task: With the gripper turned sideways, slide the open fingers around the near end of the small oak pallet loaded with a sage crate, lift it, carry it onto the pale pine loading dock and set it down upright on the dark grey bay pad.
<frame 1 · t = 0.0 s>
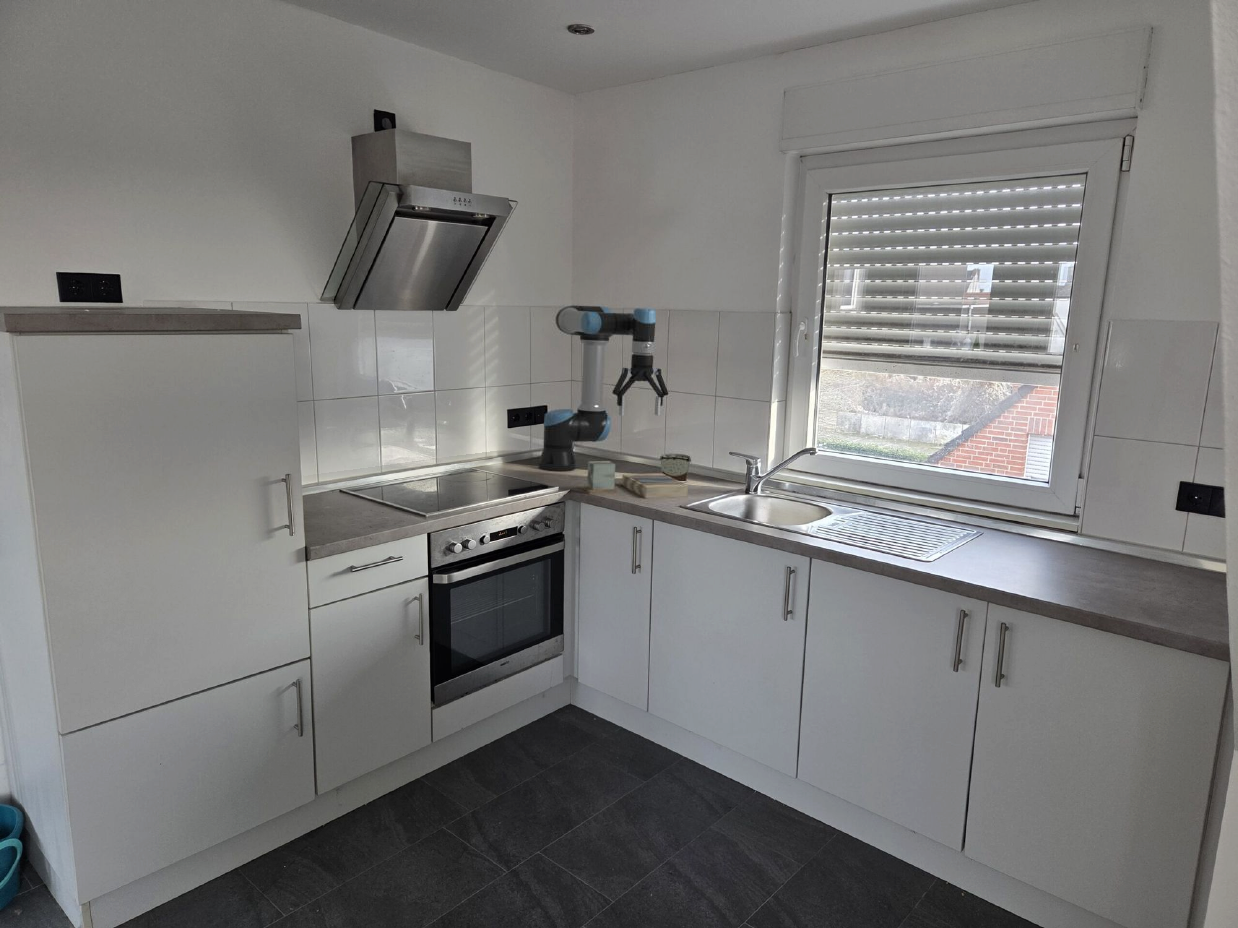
hand: (639, 415, 284), 28 cm above the worktop, tool pointing down, fingers open, 13 cm apart
loaded pallet: (600, 491, 290), on the worktop
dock: (653, 490, 295), on the worktop
food container: (674, 480, 316), on the worktop
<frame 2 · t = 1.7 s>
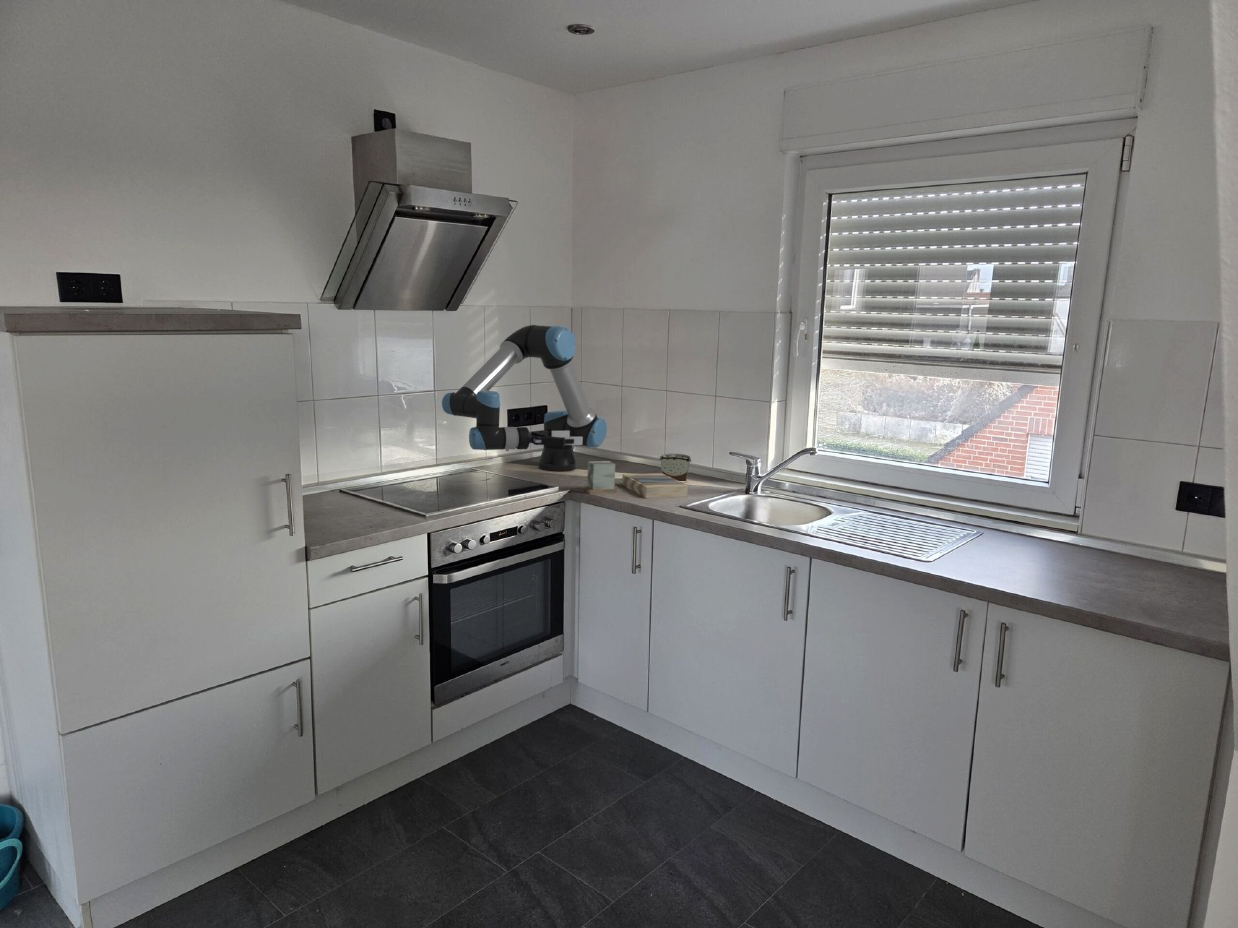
hand: (575, 437, 282), 20 cm above the worktop, tool horizontal, fingers open, 13 cm apart
nothing on the worktop moved.
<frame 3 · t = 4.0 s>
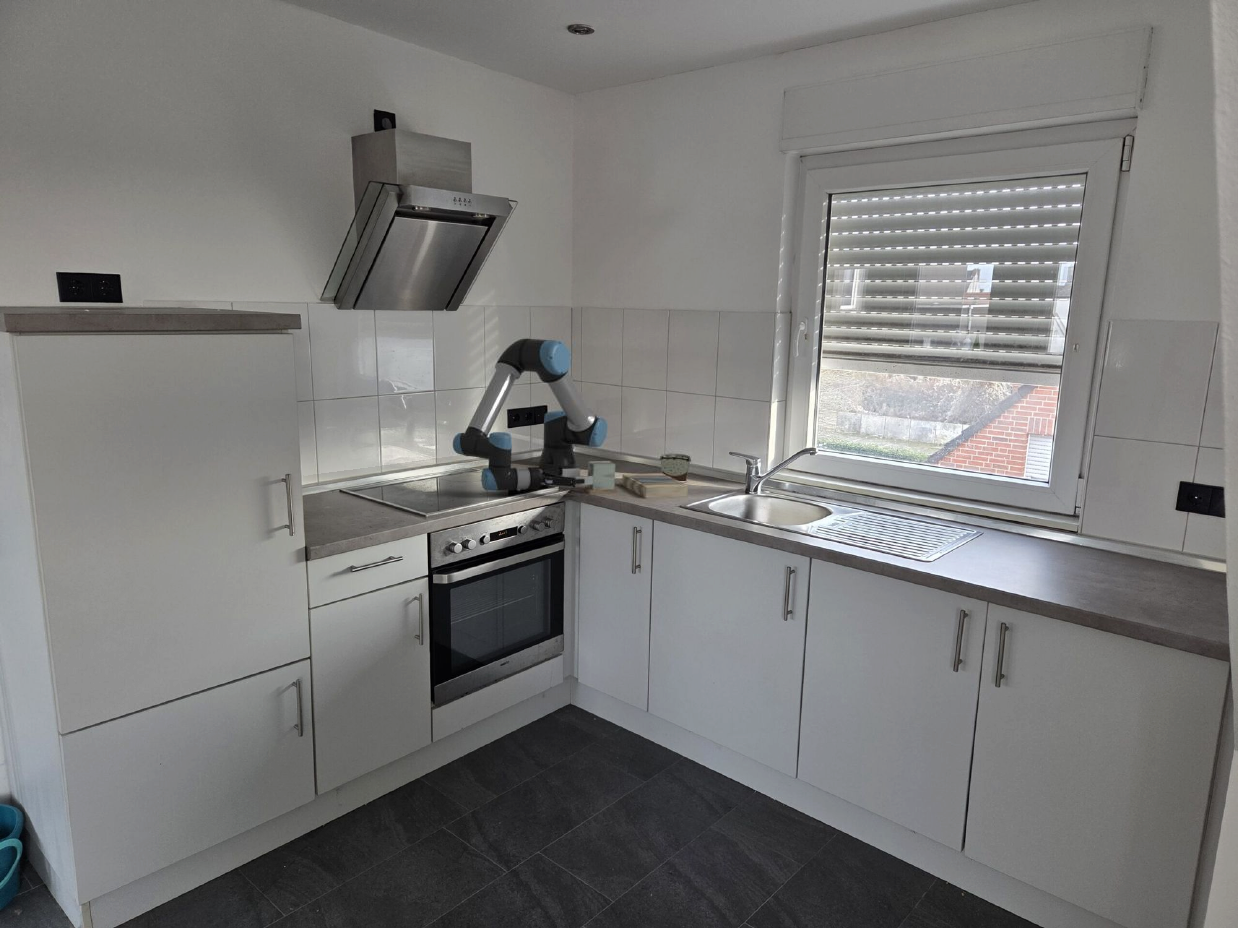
hand: (586, 476, 286), 6 cm above the worktop, tool horizontal, fingers open, 13 cm apart
nothing on the worktop moved.
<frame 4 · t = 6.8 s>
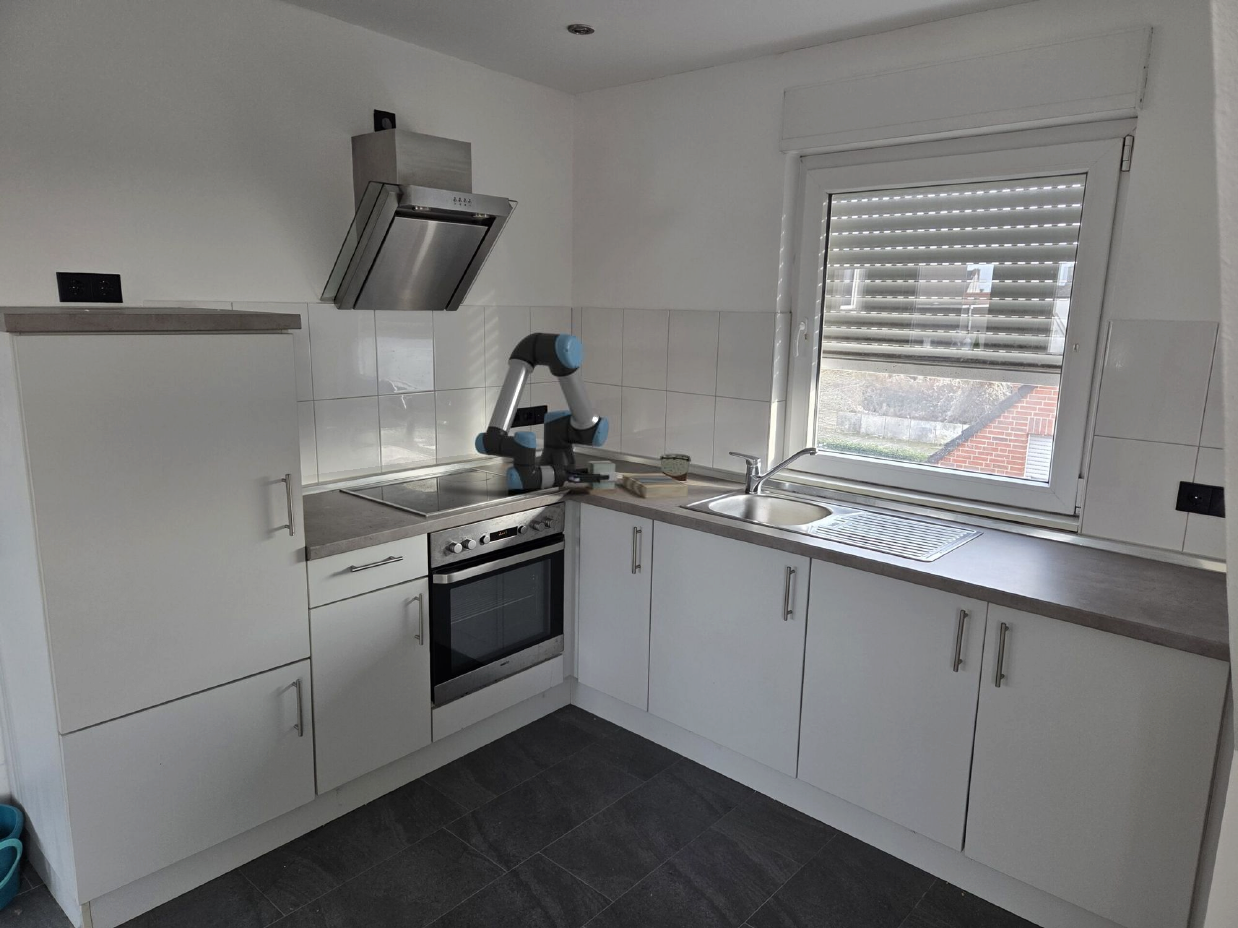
hand: (613, 474, 290), 6 cm above the worktop, tool horizontal, fingers closed on loaded pallet, 6 cm apart
loaded pallet: (600, 491, 290), on the worktop, touching gripper
everything else where it was.
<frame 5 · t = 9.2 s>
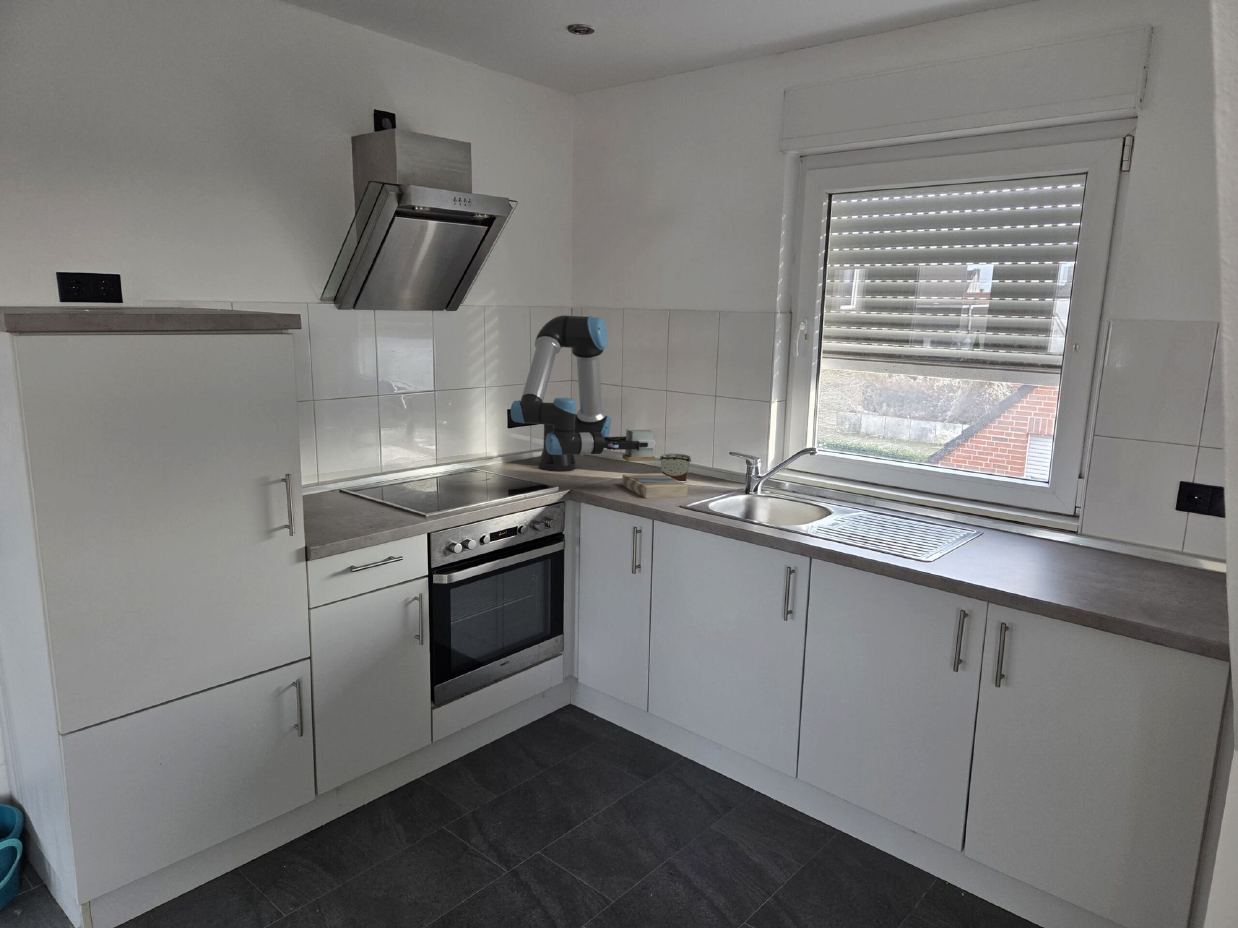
hand: (651, 442, 290), 18 cm above the worktop, tool horizontal, fingers closed on loaded pallet, 6 cm apart
loaded pallet: (638, 459, 290), point 12 cm above the worktop, touching gripper
everything else where it was.
when the fingers open (11 cm above the worktop, at t = 11.8 s): loaded pallet stays where it is, resting on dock.
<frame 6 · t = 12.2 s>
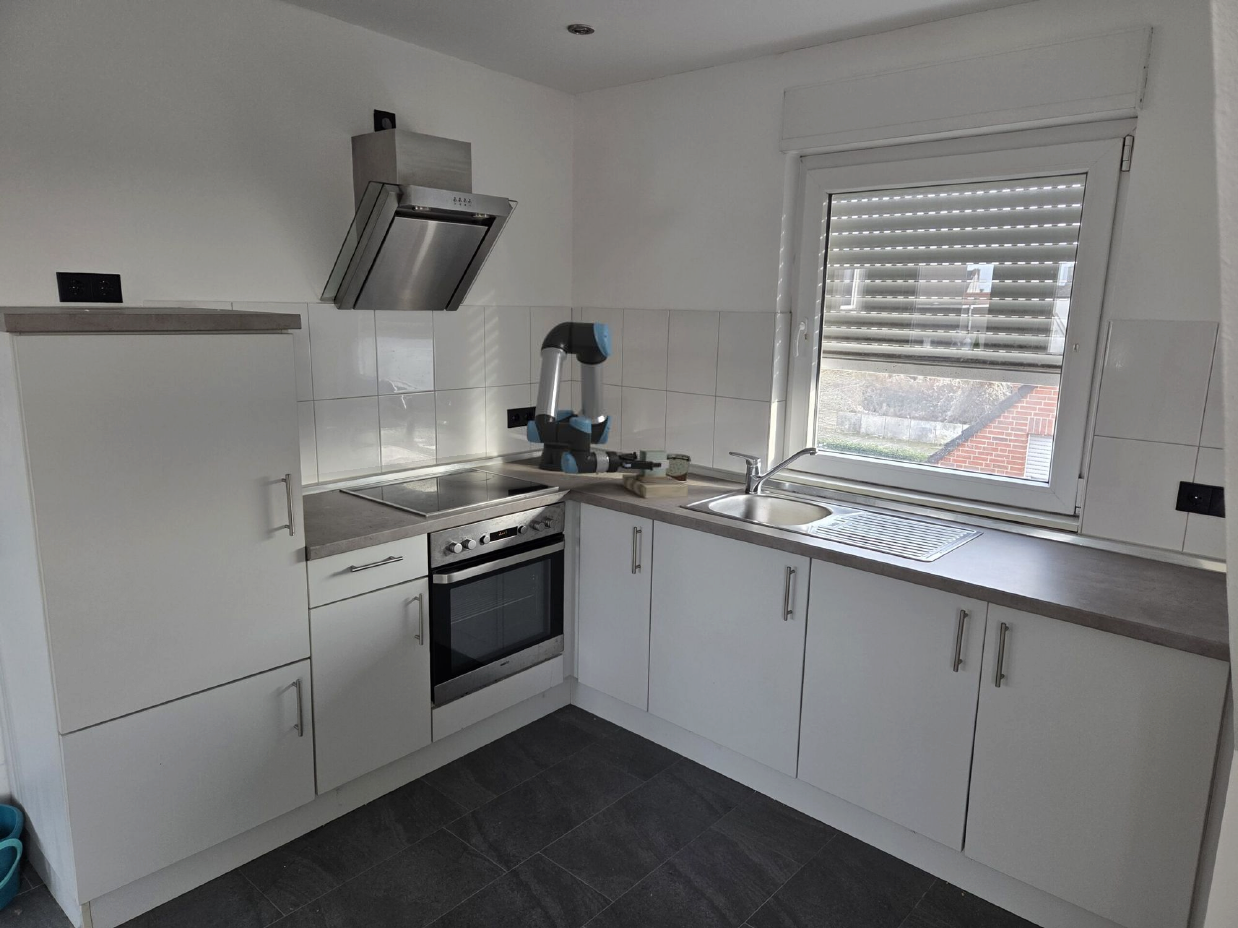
hand: (660, 460, 294), 11 cm above the worktop, tool horizontal, fingers open, 12 cm apart
loaded pallet: (651, 479, 294), point 4 cm above the worktop, touching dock
everything else where it was.
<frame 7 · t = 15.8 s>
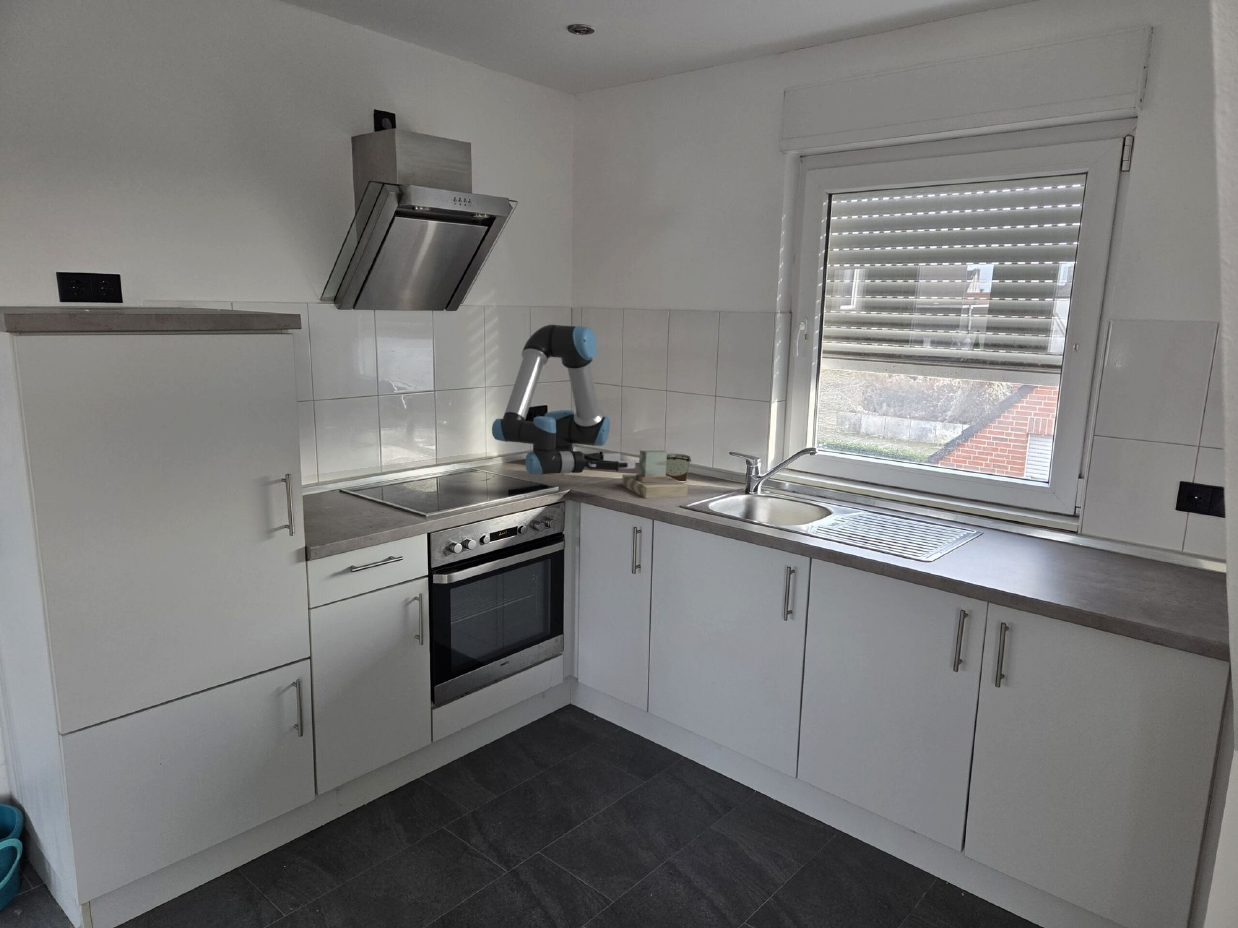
hand: (627, 460, 289), 11 cm above the worktop, tool horizontal, fingers open, 13 cm apart
nothing on the worktop moved.
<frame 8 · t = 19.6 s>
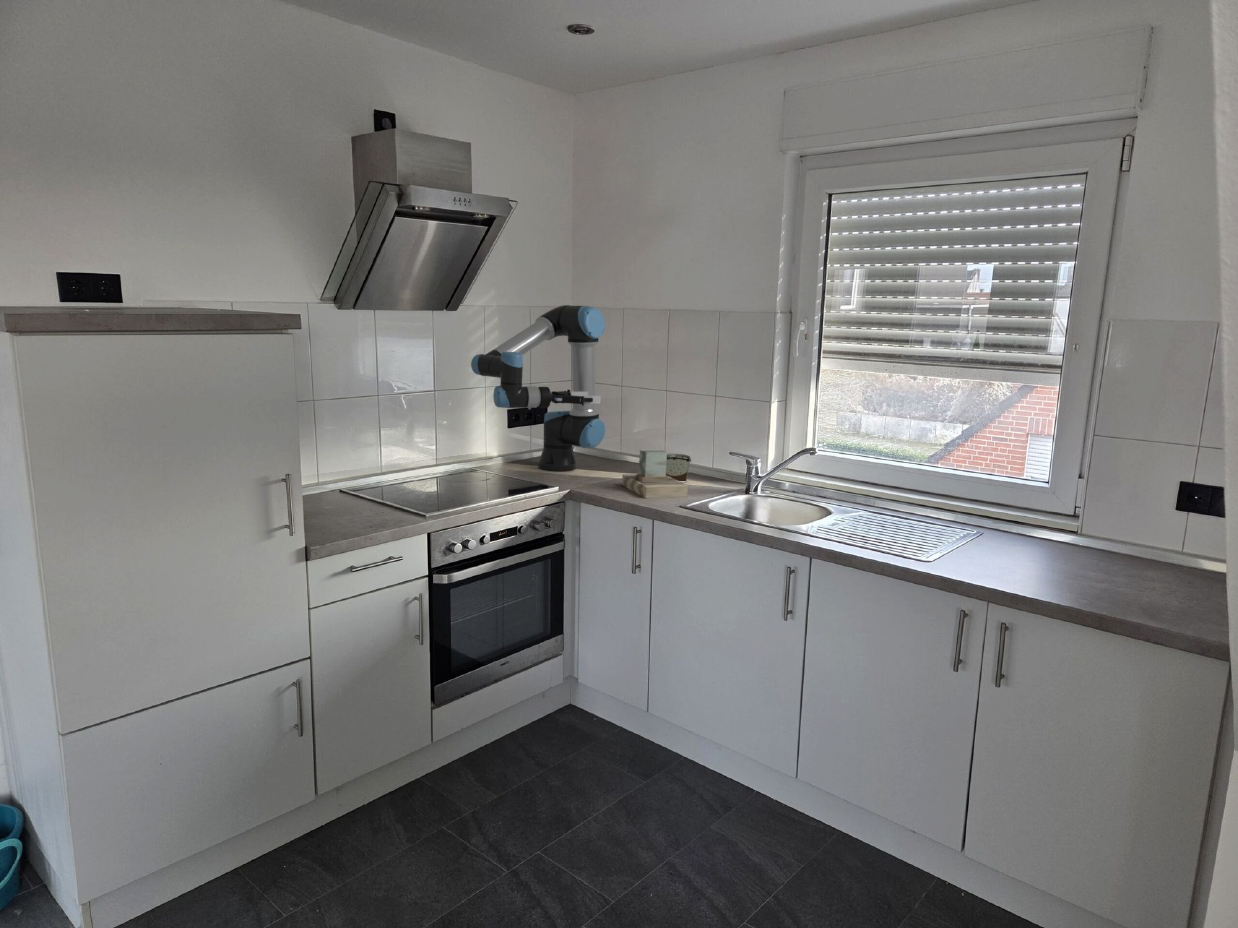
hand: (593, 397, 297), 32 cm above the worktop, tool horizontal, fingers open, 13 cm apart
nothing on the worktop moved.
at the end: loaded pallet inside the target area on the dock (1.1 cm from its centre), point 4.2 cm above the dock's base; loaded pallet tilted 0°; the gripper is holding nothing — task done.
